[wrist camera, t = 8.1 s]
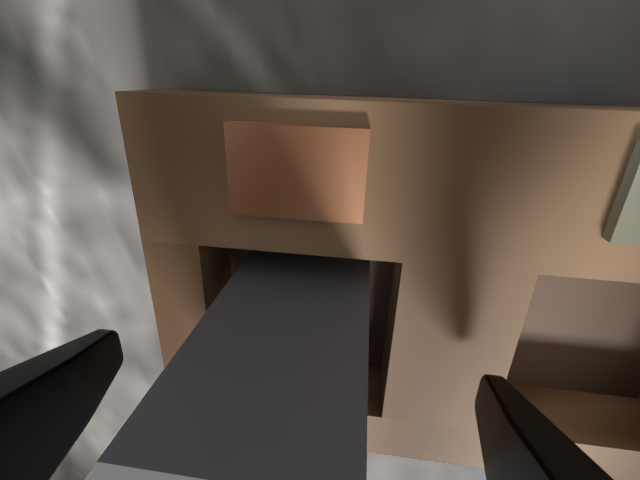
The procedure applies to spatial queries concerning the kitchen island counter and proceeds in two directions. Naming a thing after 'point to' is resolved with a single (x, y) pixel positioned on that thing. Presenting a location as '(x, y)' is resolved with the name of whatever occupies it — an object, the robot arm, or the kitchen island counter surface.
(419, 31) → the kitchen island counter surface
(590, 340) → the socket strip
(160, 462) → the plug
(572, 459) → the robot arm
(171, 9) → the kitchen island counter surface
